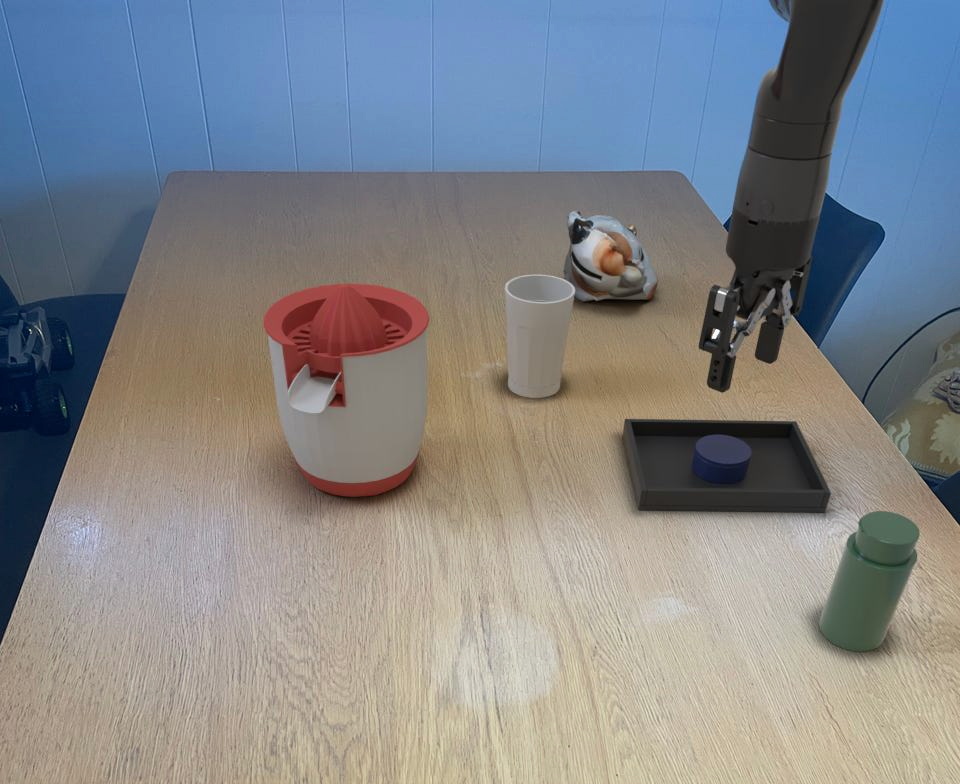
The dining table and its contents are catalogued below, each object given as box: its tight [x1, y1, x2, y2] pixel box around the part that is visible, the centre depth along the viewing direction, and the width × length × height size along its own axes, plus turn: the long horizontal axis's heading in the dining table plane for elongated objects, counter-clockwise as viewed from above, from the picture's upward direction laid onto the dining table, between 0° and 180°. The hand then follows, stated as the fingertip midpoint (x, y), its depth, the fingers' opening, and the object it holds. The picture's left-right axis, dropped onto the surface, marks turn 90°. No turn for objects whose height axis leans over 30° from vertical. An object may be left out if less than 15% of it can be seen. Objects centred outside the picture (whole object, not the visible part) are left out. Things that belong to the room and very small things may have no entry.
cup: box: [504, 274, 575, 399], centre depth 113 cm, size 8×8×12 cm
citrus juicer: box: [263, 283, 430, 498], centre depth 95 cm, size 16×17×20 cm
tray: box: [621, 418, 832, 513], centre depth 103 cm, size 19×14×2 cm
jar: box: [818, 510, 921, 653], centre depth 82 cm, size 6×6×11 cm
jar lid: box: [692, 435, 752, 484], centre depth 102 cm, size 6×6×2 cm
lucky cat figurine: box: [563, 209, 659, 303], centre depth 133 cm, size 15×12×14 cm
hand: (741, 374), depth 95 cm, fingers open, 8 cm apart
